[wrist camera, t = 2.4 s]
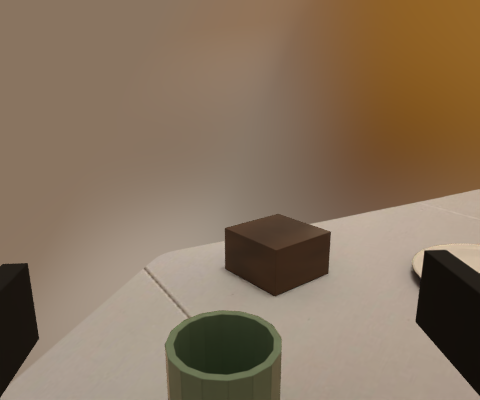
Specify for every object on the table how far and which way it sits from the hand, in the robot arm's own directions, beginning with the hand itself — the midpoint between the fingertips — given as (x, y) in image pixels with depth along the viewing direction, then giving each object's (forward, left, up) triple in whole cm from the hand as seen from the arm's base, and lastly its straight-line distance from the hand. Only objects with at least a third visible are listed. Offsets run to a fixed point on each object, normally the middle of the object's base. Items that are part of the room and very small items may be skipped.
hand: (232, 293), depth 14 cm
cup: (-8, +6, -18) cm, 21 cm away
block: (-28, +30, -18) cm, 45 cm away
